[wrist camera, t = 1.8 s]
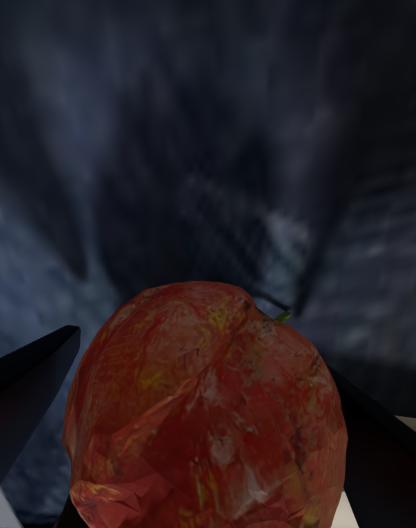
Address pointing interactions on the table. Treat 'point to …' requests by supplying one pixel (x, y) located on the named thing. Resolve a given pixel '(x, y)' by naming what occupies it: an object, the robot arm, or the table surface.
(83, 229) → the table surface
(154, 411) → the red oval lump
